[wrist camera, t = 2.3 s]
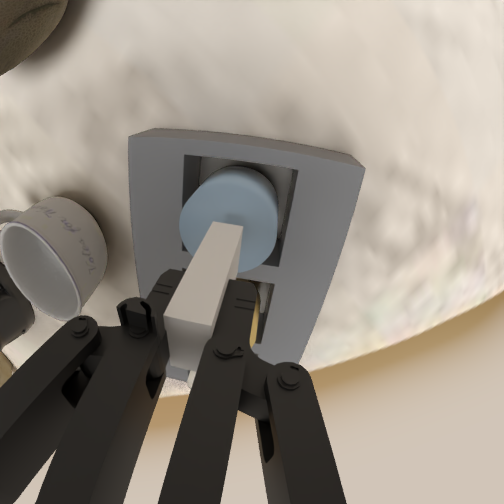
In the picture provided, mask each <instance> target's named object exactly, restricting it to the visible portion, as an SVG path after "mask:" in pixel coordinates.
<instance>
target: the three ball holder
mask: <svg viewBox="0 0 504 504" xmlns="http://www.w3.org/2000/svg"><path fill="white" fill-rule="evenodd" d="M201 156H205V157H214V158H223V159H231V160H238V161H246V162H253V163H260V164H266V165H272V166H278V167H284V168H290V169H293V175H292V180H291V185H290V191H289V196H288V201H287V206H286V211H285V216H284V222H283V227H282V232H281V237H280V240H278V239H276V243H275V246H274V249H273V251H272V252H271V254H270V256H269V257H268V258H267V259H266V260H265V261H264V262H263V263H262V264H260V265H259V266H257V267H255V268H253V269H251V270H248V271H245V272H241V273H237V276H236V278H242V279H248V280H254V281H260V282H266V283H271V285H270V289H269V294H268V299H267V303H266V308H265V312H264V314H262V313H259V318H258V326H257V334H256V341H255V343H254V345H253V347H252V348H251V349H252V351H253V352H254V353H255V355H257V356H258V357H259V358H260V359H262V360H264V361H266V362H268V363H270V364H273V365H276V364H277V363H281V362H294V363H296V364H299V361H300V359H301V357H302V354H303V352H304V350H305V347H306V345H307V343H308V340H309V338H310V335H311V333H312V330H313V328H314V325H315V323H316V320H317V318H318V315H319V313H320V310H321V308H322V305H323V302H324V300H325V297H326V294H327V291H328V289H329V286H330V283H331V280H332V278H333V275H334V272H335V269H336V266H337V263H338V260H339V257H340V254H341V251H342V248H343V245H344V242H345V239H346V236H347V232H348V229H349V226H350V223H351V219H352V216H353V213H354V209H355V206H356V202H357V199H358V195H359V191H360V188H361V184H362V180H363V176H364V172H365V169H366V168H365V167H363V166H362V165H361V164H360V163H359V162H358V161H357V160H356V159H355V158H353V157H352V156H351V155H348V154H344V153H340V152H335V151H331V150H326V149H322V148H317V147H312V146H307V145H302V144H296V143H291V142H285V141H279V140H273V139H267V138H260V137H253V136H245V135H237V134H228V133H218V132H208V131H195V130H180V129H157V128H154V129H150V130H147V131H144V132H141V133H138V134H135V135H132V136H129V141H128V161H129V194H130V211H131V224H132V235H133V245H134V254H135V263H136V270H137V278H138V284H139V291H140V297H141V298H144V299H146V298H147V296H148V295H149V293H150V292H151V291H152V288H153V287H154V285H155V284H156V282H157V280H158V279H159V277H160V275H161V274H163V273H164V272H166V271H167V270H169V269H175V270H180V271H185V272H186V270H187V268H188V266H189V264H190V263H191V261H192V259H193V256H192V255H191V254H190V253H189V252H188V250H187V249H186V247H185V245H184V243H183V241H182V238H181V235H180V230H179V220H180V215H181V212H182V209H183V207H184V205H185V203H186V202H187V201H188V199H189V198H190V197H191V196H192V195H193V194H194V192H195V191H196V190H197V189H198V188H199V173H200V159H201ZM189 373H190V370H186V369H182V368H178V367H174V366H171V365H170V359H169V360H168V363H167V365H166V377H169V378H172V379H176V380H181V381H185V382H187V380H188V377H189Z"/></svg>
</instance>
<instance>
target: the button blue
mask: <svg viewBox="0 0 504 504" xmlns="http://www.w3.org/2000/svg"><path fill="white" fill-rule="evenodd" d="M213 221H214V222H220V223H227V224H233V225H239V226H243V233H242V241H241V249H240V257H239V265H238V273H241V272H245V271H248V270H251V269H253V268H255V267H257V266H259V265H260V264H262V263H263V262H264V261H265V260H266V259H267V258H268V257H269V256H270V254H271V252H272V251H273V249H274V246H275V243H276V239H277V226H278V197H277V194H276V191H275V189H274V187H273V186H272V184H271V183H270V182H269V181H268V179H267V178H266V177H264V176H263V175H262V174H260V173H259V172H257V171H255V170H253V169H250V168H248V167H243V166H230V167H225V168H222V169H219V170H217V171H215V172H214V173H213V174H211V175H210V176H209V177H208V178H207V179H206V180H205V181H204V182H203V183H202V185H201V186H200V187H199V188H198V189H197V190H196V191H195V192H194V194H193V195H192V196H191V197H190V198H189V199H188V201H187V202H186V203H185V205H184V207H183V209H182V212H181V215H180V220H179V230H180V235H181V238H182V241H183V243H184V245H185V247H186V249H187V250H188V252H189V253H190V254H191V255H192V256H193V257H194V255H195V253H196V251H197V250H198V248H199V246H200V244H201V242H202V240H203V239H204V237H205V235H206V233H207V231H208V230H209V228H210V226H211V224H212V222H213Z"/></svg>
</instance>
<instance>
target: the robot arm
mask: <svg viewBox="0 0 504 504" xmlns="http://www.w3.org/2000/svg"><path fill="white" fill-rule="evenodd" d="M242 233H243V226H239V225H233V224H227V223H220V222H214V221H213V222H212V224H211V226H210V228H209V230H208V231H207V233H206V235H205V237H204V239H203V240H202V242H201V244H200V246H199V248H198V250H197V251H196V253H195V255H194V257H193V259H192V261H191V263H190V264H189V266H188V268H187V270H186V272H185V271H180V270H175V269H169V270H167V271H166V272H164V273H163V274H161V275H160V277H159V279H158V280H157V282H156V284H155V285H154V287H153V288H152V291H151V292H150V293H149V295H148V296H147V298H146V299H144V298H138V297H134V298H129V299H126V300H124V301H122V302H121V303H120V304H119V305H118V306H117V311H118V315H119V319H120V322H121V326H115V327H107V326H98V325H97V322H96V321H95V320H94V319H93V318H92V317H89V316H82V315H80V316H77V317H74V318H72V319H71V320H69V321H68V322H67V323H66V324H65V325H64V326H62V327H61V328H60V329H59V330H58V331H57V332H56V333H55V334H54V335H53V336H52V337H51V338H49V339H48V340H47V341H46V342H45V343H44V344H43V345H42V346H41V347H40V348H39V349H38V350H37V351H36V352H35V353H34V354H33V355H32V356H31V357H30V358H29V359H28V360H27V361H26V362H25V363H24V364H23V365H22V366H21V367H20V368H19V369H18V370H17V371H16V372H15V373H14V374H13V375H12V376H11V377H10V378H9V379H8V380H7V381H6V382H5V383H4V384H3V385H2V386H1V387H0V504H13V503H14V502H15V501H16V500H17V499H18V497H19V496H20V495H21V493H22V492H23V491H24V490H25V488H26V487H27V485H28V484H29V483H30V482H31V480H32V479H33V478H34V476H35V475H36V474H37V473H38V471H39V470H40V469H41V468H42V466H43V465H44V464H45V463H46V461H47V460H48V459H49V458H50V456H51V455H52V454H53V453H54V451H55V450H56V452H55V454H54V457H53V459H52V461H51V464H50V466H49V469H48V471H47V474H46V477H45V479H44V482H43V484H42V487H41V489H40V492H39V495H38V498H37V501H36V503H35V504H123V502H124V499H125V496H126V492H127V489H128V486H129V483H130V479H131V477H132V473H133V470H134V467H135V464H136V461H137V458H138V455H139V452H140V449H141V446H142V443H143V440H144V438H145V435H146V432H147V429H148V426H149V423H150V420H151V418H152V415H153V412H154V409H155V406H156V404H157V401H158V398H159V395H160V393H161V390H162V387H163V384H164V382H165V379H166V365H167V363H168V360H169V359H170V365H171V366H174V367H178V368H182V369H186V370H190V371H195V372H196V375H195V378H194V381H193V384H192V388H191V391H190V394H189V398H188V401H187V404H186V408H185V411H184V414H183V418H182V421H181V424H180V428H179V431H178V434H177V438H176V441H175V445H174V448H173V451H172V455H171V458H170V462H169V465H168V469H167V472H166V476H165V479H164V483H163V487H162V490H161V494H160V497H159V501H158V504H220V502H221V497H222V492H223V487H224V481H225V476H226V471H227V465H228V460H229V455H230V449H231V443H232V439H233V433H234V427H235V422H236V417H237V411H238V410H239V411H241V412H243V413H245V414H247V415H249V416H251V417H254V418H255V423H256V429H257V437H258V443H259V450H260V456H261V463H262V469H263V475H264V481H265V487H266V493H267V499H268V504H347V503H346V500H345V496H344V492H343V488H342V485H341V481H340V477H339V474H338V470H337V466H336V463H335V459H334V456H333V452H332V448H331V445H330V441H329V438H328V435H327V431H326V427H325V424H324V420H323V417H322V413H321V410H320V407H319V403H318V400H317V396H316V393H315V390H314V386H313V383H312V379H311V377H310V375H309V373H308V371H307V370H306V369H305V368H303V367H302V366H301V365H298V364H296V363H294V362H281V363H277V364H276V365H273V364H270V363H268V362H266V361H264V360H262V359H260V358H259V357H258V356H257V355H255V354H254V352H253V351H252V349H251V346H250V334H251V328H252V322H253V316H254V310H255V304H256V298H257V290H256V288H255V286H254V283H249V282H243V281H238V280H236V276H237V273H238V265H239V257H240V249H241V241H242ZM33 323H34V313H33V310H32V307H31V305H30V303H29V301H28V299H27V298H26V297H25V296H24V295H23V294H22V292H21V291H20V290H19V289H18V287H17V286H16V285H15V283H14V281H13V280H12V278H11V277H10V275H9V273H8V271H7V269H6V268H5V267H4V266H3V265H2V264H1V263H0V351H1V350H2V349H3V347H4V346H5V345H7V344H8V343H10V342H12V341H13V340H15V339H16V338H18V337H19V336H21V335H22V334H24V333H26V332H27V331H28V330H29V329H30V327H31V326H32V325H33Z"/></svg>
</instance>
